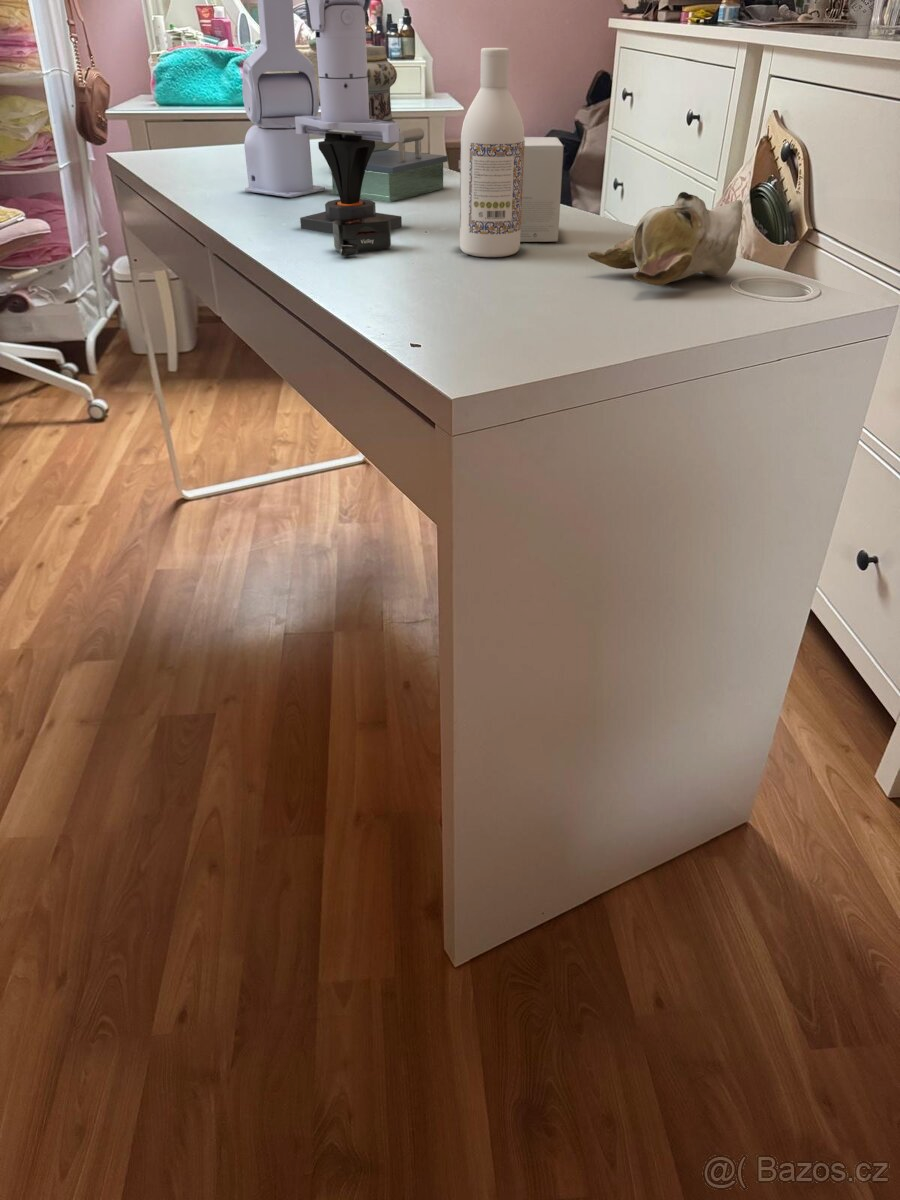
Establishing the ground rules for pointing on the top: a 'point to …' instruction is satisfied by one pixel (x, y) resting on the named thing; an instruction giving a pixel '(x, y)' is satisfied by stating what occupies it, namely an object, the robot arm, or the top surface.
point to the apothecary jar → (379, 89)
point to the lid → (404, 155)
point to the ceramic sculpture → (679, 242)
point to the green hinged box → (399, 183)
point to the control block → (345, 216)
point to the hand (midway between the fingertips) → (350, 202)
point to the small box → (541, 189)
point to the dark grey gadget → (361, 235)
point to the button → (350, 204)
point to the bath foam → (491, 164)
